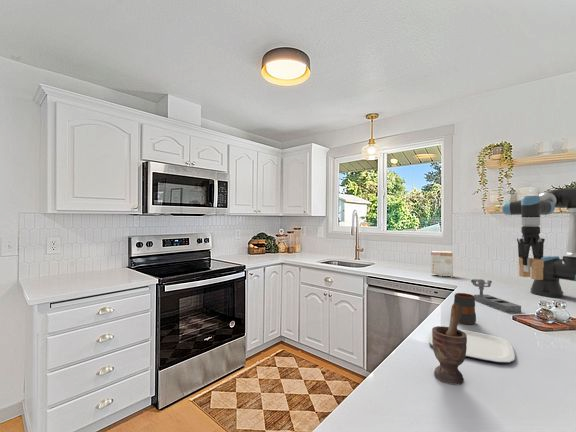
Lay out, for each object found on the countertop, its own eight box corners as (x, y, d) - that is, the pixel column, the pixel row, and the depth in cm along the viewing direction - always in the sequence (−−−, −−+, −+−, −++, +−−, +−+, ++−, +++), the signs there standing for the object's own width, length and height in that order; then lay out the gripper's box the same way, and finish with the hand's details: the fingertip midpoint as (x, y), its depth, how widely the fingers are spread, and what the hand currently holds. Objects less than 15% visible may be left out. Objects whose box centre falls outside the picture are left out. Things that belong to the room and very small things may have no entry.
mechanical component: (492, 298, 171) (492, 280, 171) (472, 297, 173) (472, 279, 173) (489, 296, 174) (489, 279, 174) (470, 295, 176) (470, 278, 176)
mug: (477, 319, 135) (477, 293, 135) (475, 326, 125) (475, 298, 125) (455, 315, 140) (455, 290, 140) (451, 322, 130) (451, 295, 130)
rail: (487, 299, 167) (487, 294, 167) (521, 312, 145) (521, 305, 145) (473, 300, 166) (473, 294, 166) (505, 312, 144) (505, 306, 145)
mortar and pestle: (433, 363, 93) (433, 298, 93) (465, 370, 89) (465, 302, 89) (431, 380, 82) (431, 308, 83) (467, 389, 78) (467, 313, 79)
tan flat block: (525, 275, 157) (525, 256, 157) (543, 279, 147) (543, 259, 147) (518, 276, 157) (518, 257, 157) (536, 279, 147) (536, 259, 147)
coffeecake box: (452, 276, 237) (452, 251, 237) (452, 277, 231) (452, 252, 231) (432, 274, 245) (432, 250, 245) (431, 275, 239) (431, 251, 239)
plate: (518, 371, 89) (518, 366, 89) (425, 351, 102) (425, 346, 102) (510, 342, 110) (510, 337, 110) (434, 328, 123) (434, 324, 124)
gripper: (539, 225, 157) (539, 270, 157) (509, 225, 155) (509, 270, 155) (553, 226, 149) (553, 272, 149) (521, 226, 148) (521, 273, 148)
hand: (530, 271), depth 152 cm, fingers closed on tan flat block, 4 cm apart
